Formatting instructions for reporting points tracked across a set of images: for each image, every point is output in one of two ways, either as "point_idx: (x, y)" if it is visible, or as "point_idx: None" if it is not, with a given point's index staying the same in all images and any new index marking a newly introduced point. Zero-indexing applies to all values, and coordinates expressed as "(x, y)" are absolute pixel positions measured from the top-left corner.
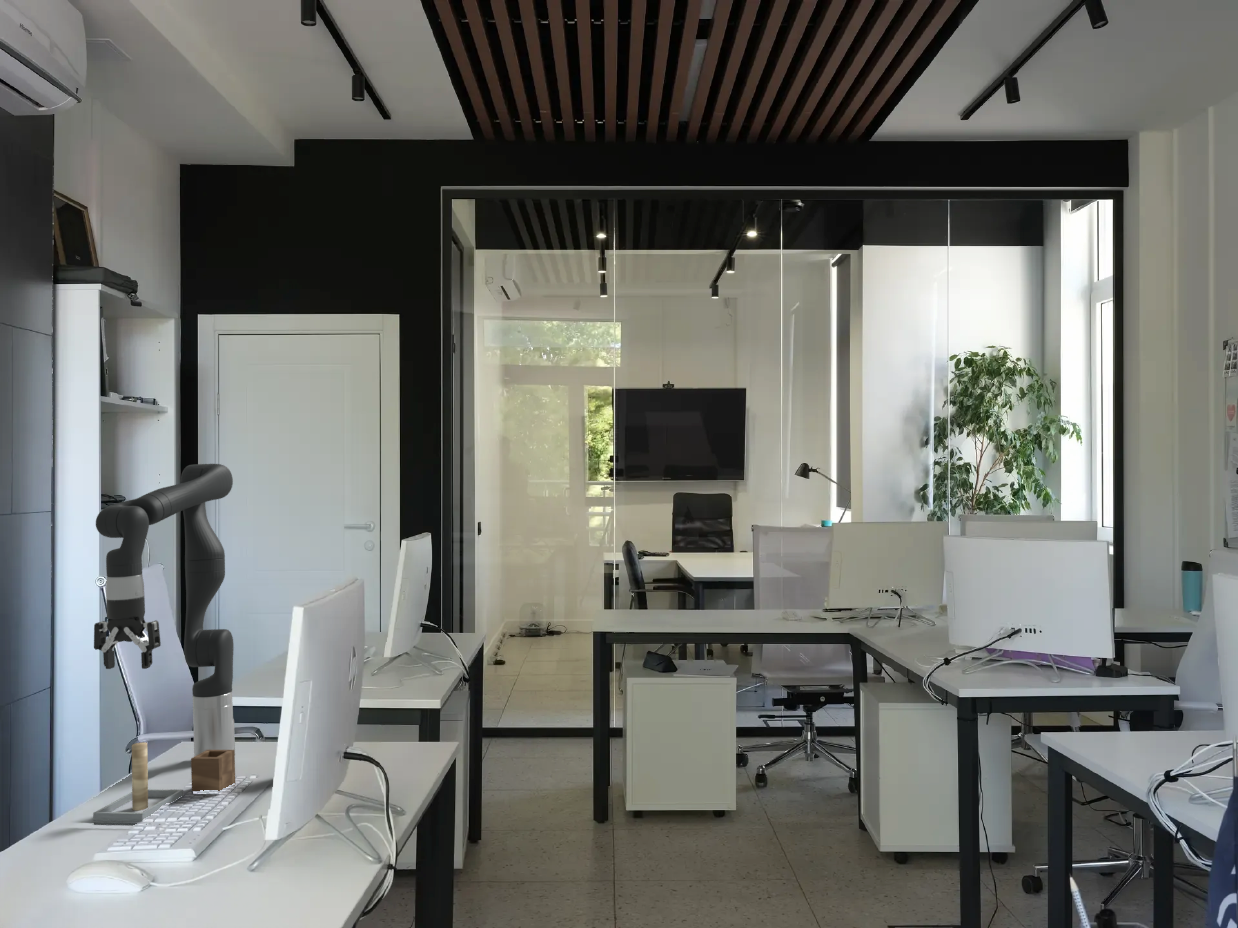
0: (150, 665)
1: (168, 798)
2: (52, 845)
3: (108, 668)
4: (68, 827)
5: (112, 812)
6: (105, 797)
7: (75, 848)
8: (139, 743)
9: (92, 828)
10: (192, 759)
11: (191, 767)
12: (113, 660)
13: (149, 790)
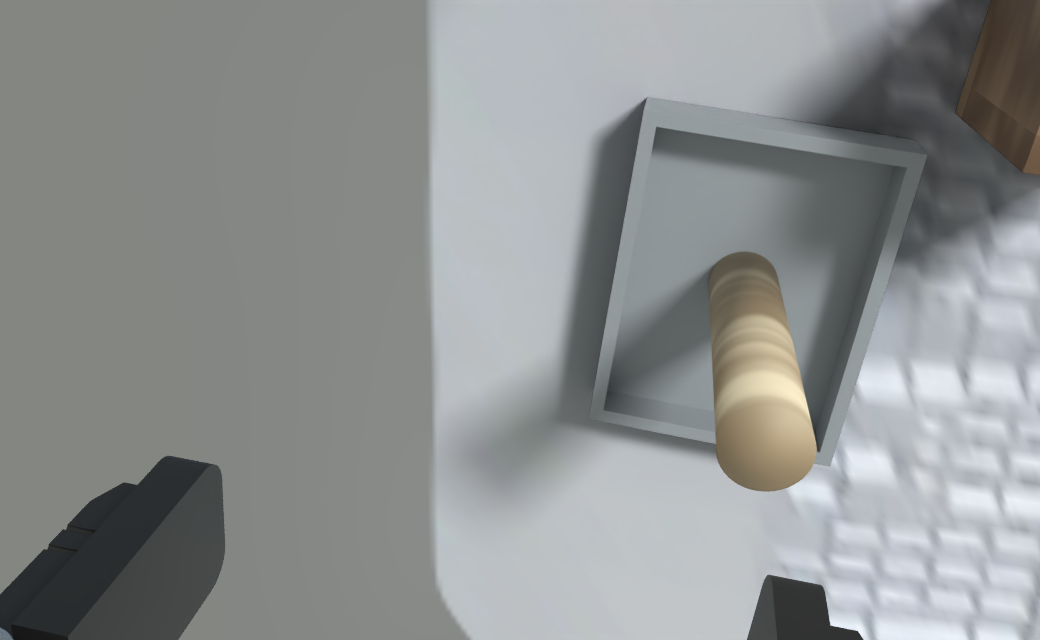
0: (821, 587)
1: (886, 282)
2: (546, 560)
3: (214, 568)
4: (501, 402)
5: (677, 428)
6: (448, 31)
7: (650, 600)
8: (755, 428)
9: (611, 429)
10: (1032, 173)
11: (1005, 155)
12: (168, 543)
13: (724, 136)
